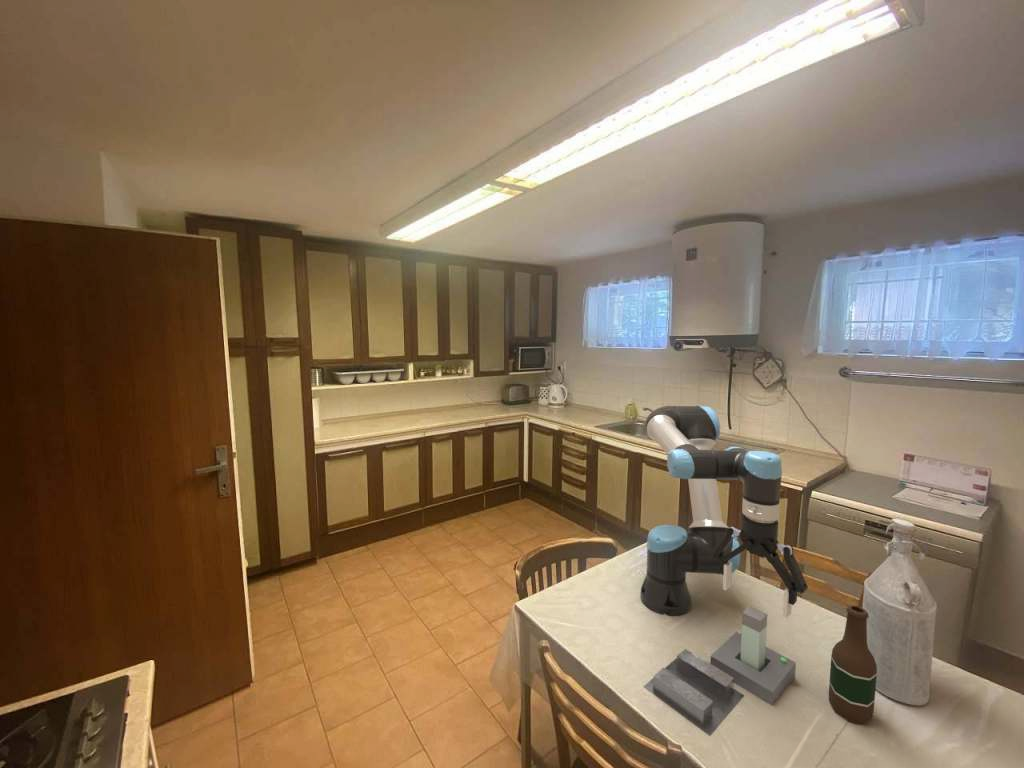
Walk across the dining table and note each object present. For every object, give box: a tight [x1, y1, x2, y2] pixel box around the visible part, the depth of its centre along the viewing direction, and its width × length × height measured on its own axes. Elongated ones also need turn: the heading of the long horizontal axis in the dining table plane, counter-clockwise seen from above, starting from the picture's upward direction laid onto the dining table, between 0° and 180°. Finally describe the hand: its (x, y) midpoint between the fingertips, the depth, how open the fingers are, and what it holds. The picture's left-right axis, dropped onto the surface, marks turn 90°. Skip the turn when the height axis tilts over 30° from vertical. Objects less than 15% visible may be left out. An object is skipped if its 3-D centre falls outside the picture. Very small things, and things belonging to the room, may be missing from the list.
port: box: [709, 631, 797, 706], centre depth 103 cm, size 14×14×5 cm
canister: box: [861, 518, 938, 706], centre depth 99 cm, size 13×17×40 cm
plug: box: [740, 605, 768, 672], centre depth 103 cm, size 4×4×16 cm
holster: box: [643, 648, 745, 737], centre depth 98 cm, size 16×16×4 cm
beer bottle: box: [828, 604, 877, 726], centre depth 92 cm, size 8×8×24 cm
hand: (755, 600), depth 102 cm, fingers open, 13 cm apart
